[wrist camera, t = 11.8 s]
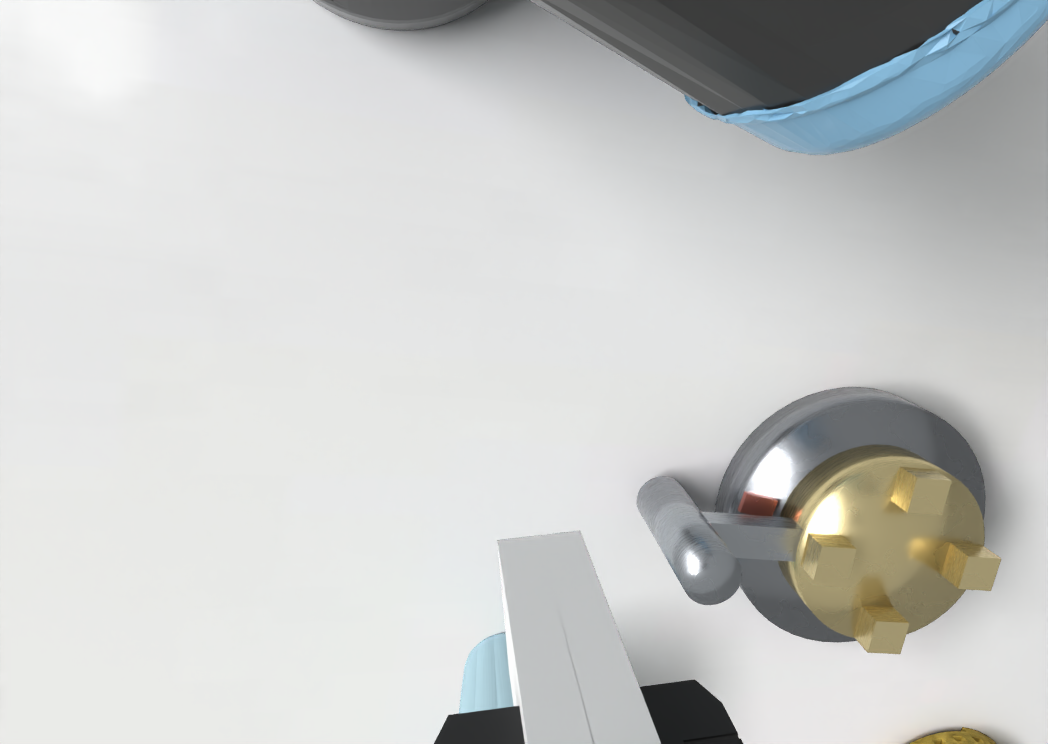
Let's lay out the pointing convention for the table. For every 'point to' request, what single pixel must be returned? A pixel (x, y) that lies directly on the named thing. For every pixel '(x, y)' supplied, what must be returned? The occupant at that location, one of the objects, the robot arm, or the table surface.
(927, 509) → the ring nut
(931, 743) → the gold gear disc
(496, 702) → the cup
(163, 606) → the table surface
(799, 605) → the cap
